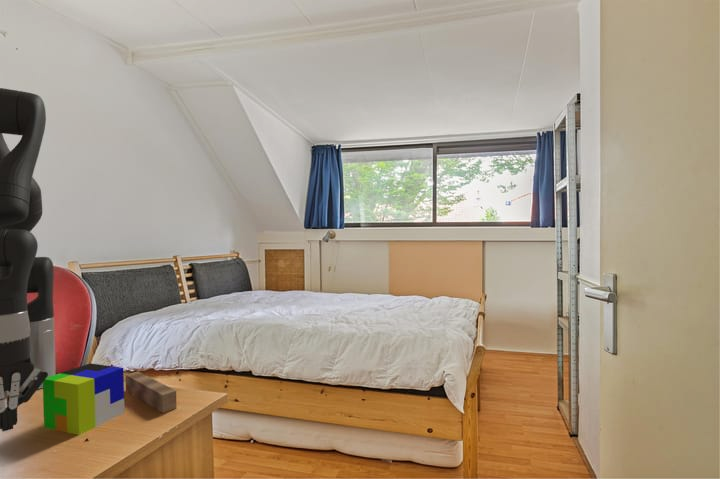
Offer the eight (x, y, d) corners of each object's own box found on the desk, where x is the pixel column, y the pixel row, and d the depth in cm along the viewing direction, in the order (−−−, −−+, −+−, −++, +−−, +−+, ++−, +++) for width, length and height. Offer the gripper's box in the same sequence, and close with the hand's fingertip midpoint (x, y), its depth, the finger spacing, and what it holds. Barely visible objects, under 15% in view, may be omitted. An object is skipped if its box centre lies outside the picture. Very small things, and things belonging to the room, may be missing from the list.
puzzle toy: (124, 413, 88) (123, 367, 87) (79, 435, 78) (77, 384, 78) (91, 407, 91) (90, 363, 91) (44, 427, 81) (42, 378, 81)
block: (125, 390, 100) (125, 374, 100) (138, 386, 102) (138, 371, 102) (162, 413, 87) (162, 395, 87) (176, 408, 89) (176, 390, 89)
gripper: (42, 326, 82) (45, 410, 82) (-50, 341, 72) (-46, 436, 72) (53, 332, 77) (55, 421, 77) (-45, 348, 67) (-41, 451, 67)
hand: (6, 428), depth 75 cm, fingers closed
